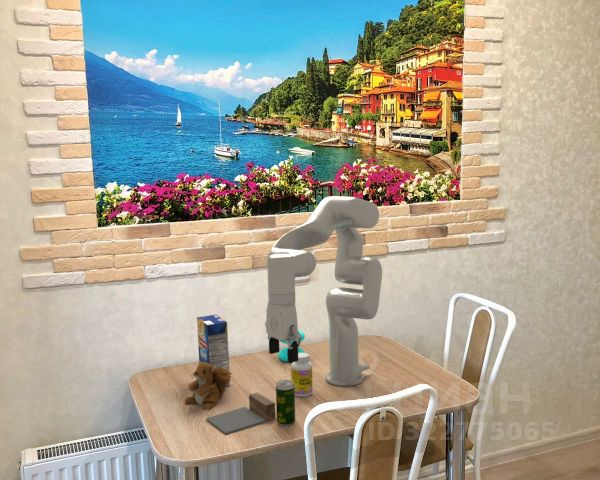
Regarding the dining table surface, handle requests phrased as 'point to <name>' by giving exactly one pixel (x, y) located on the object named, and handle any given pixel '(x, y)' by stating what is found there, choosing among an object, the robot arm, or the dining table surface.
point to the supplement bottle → (302, 375)
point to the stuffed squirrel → (208, 385)
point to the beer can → (285, 402)
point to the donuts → (283, 352)
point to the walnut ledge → (262, 406)
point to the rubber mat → (235, 420)
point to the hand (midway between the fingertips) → (283, 357)
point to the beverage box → (213, 341)
